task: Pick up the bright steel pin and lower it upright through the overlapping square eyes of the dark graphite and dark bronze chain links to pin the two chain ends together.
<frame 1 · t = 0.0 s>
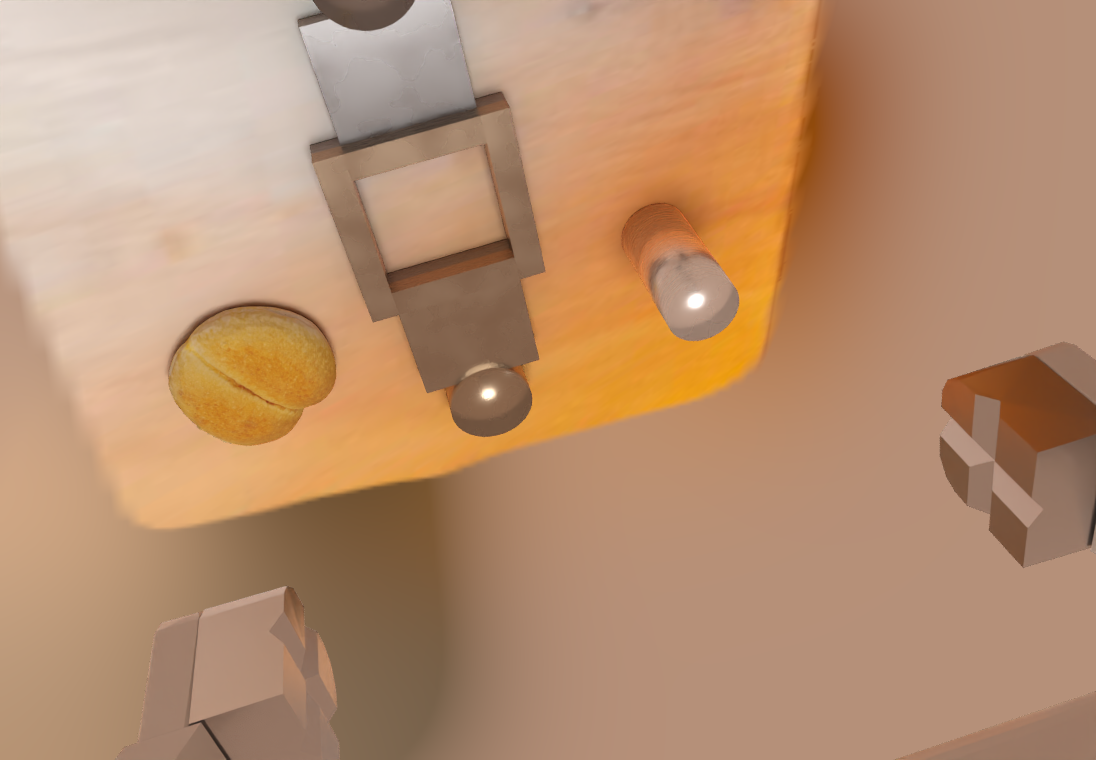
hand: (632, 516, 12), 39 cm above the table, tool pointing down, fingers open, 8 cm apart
upper chain link: (431, 203, 52), on the table
lower chain link: (431, 203, 52), on the table
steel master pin: (654, 233, 57), on the table
bread roll: (253, 362, 56), on the table
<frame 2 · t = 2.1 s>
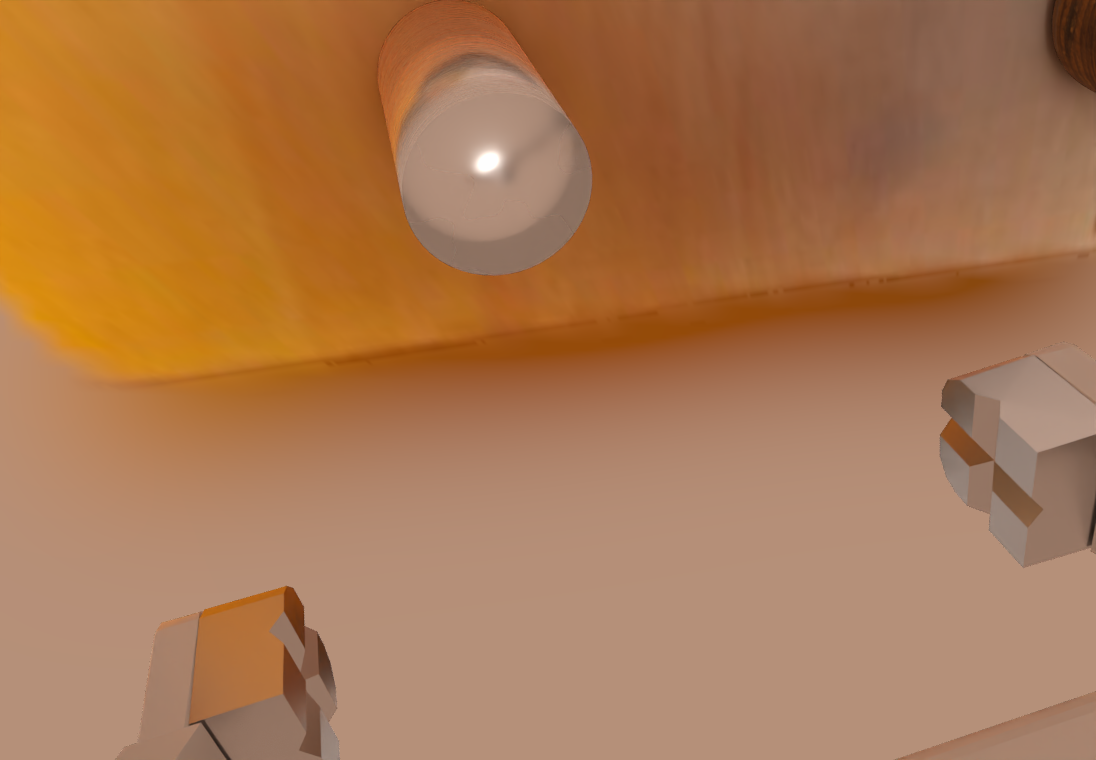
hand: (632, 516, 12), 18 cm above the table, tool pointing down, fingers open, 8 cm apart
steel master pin: (451, 76, 26), on the table
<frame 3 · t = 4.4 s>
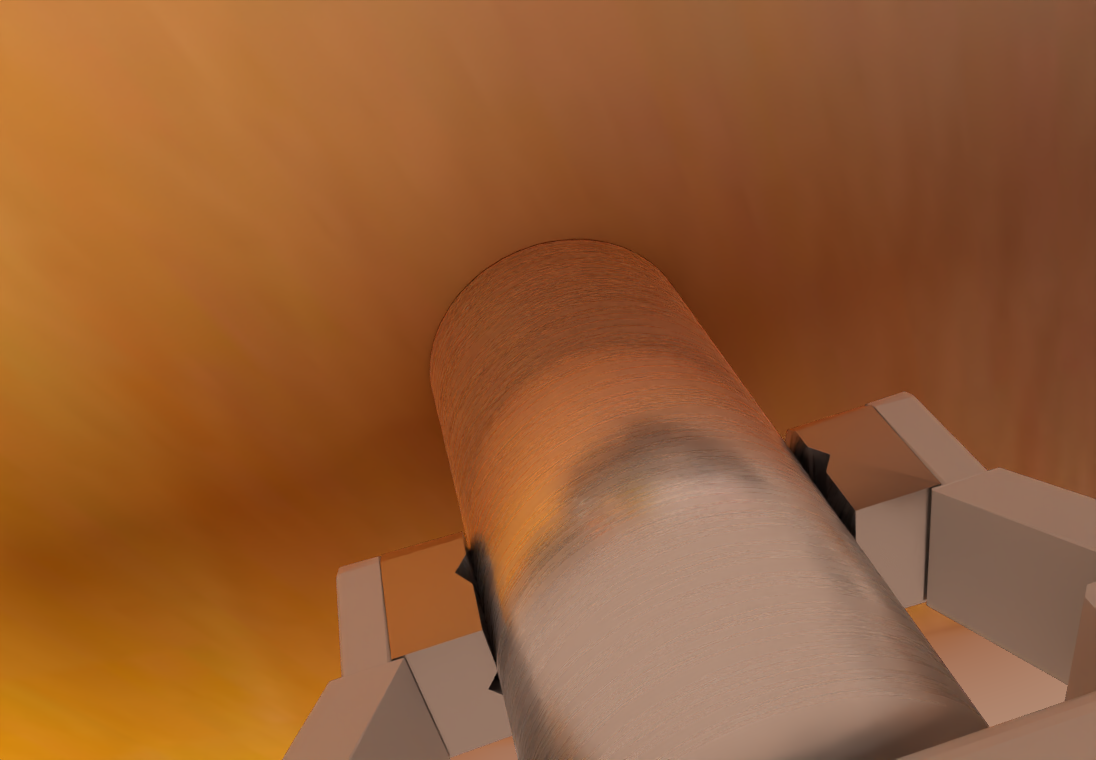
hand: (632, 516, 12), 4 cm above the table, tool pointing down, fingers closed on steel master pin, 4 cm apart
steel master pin: (561, 361, 15), on the table, touching gripper
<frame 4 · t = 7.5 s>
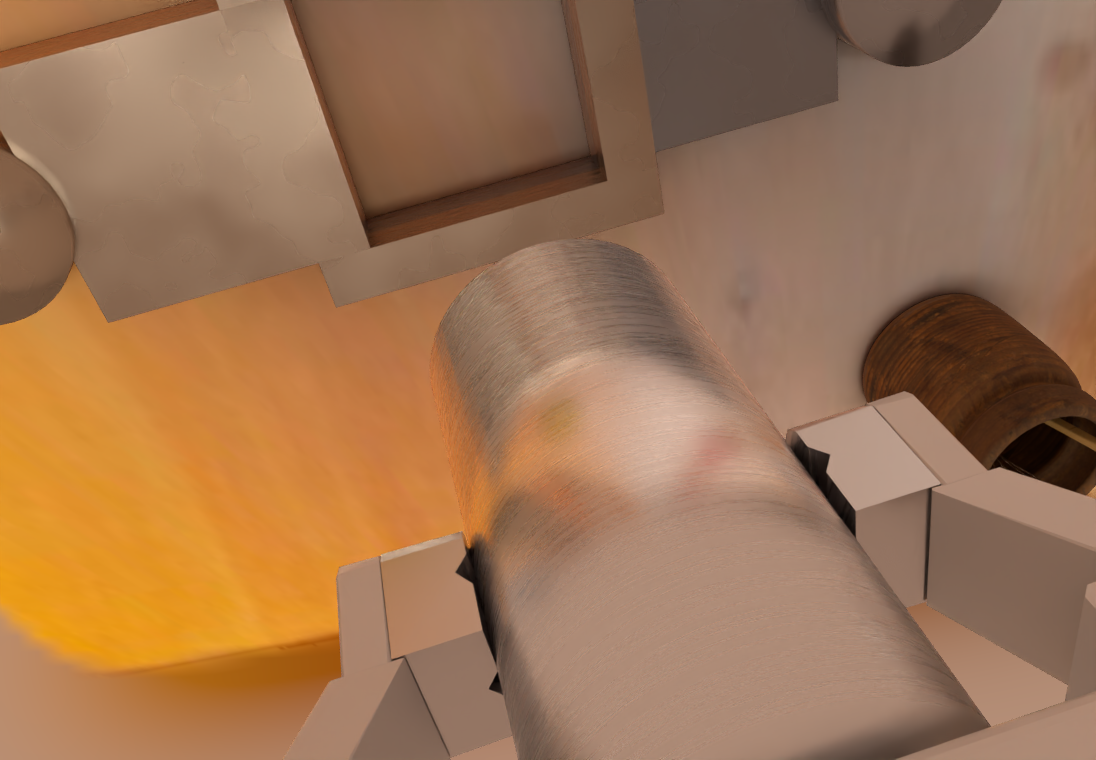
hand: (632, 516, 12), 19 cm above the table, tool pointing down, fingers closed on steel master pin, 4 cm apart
upper chain link: (449, 74, 27), on the table
lower chain link: (449, 74, 27), on the table
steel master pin: (562, 360, 15), point 15 cm above the table, touching gripper
utensil holder: (929, 352, 37), on the table
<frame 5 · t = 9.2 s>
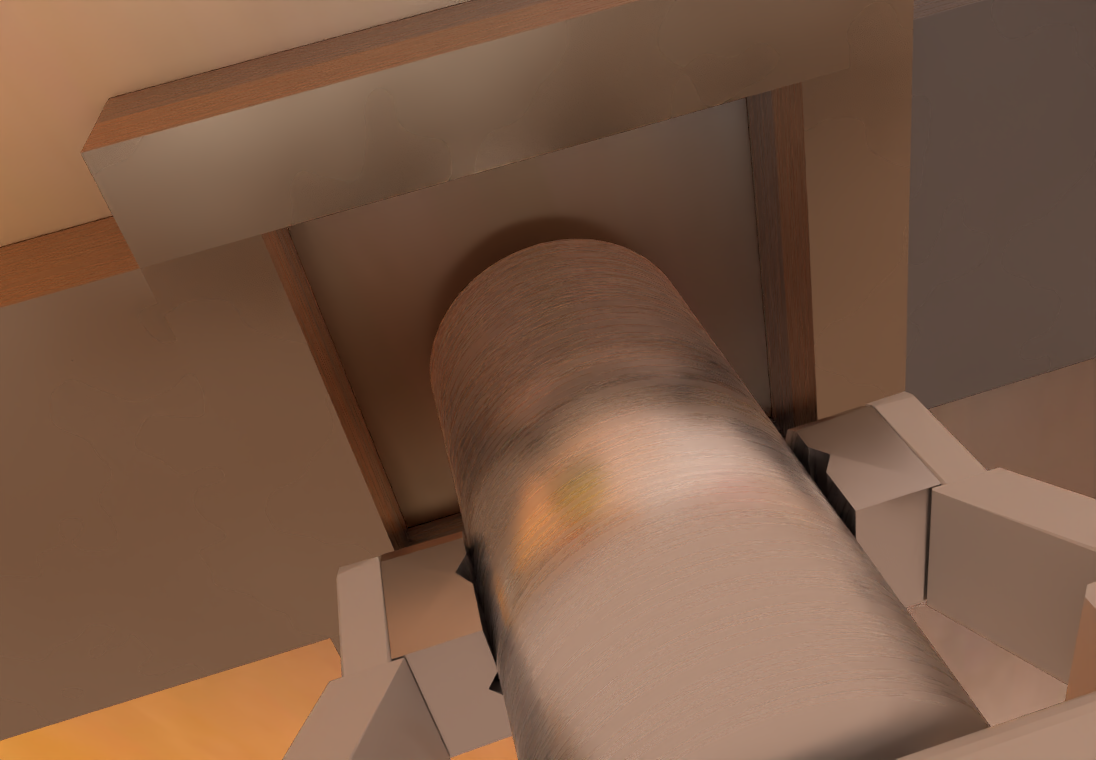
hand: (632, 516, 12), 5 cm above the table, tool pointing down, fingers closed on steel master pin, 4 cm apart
upper chain link: (555, 313, 16), on the table
lower chain link: (555, 313, 16), on the table
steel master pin: (562, 360, 15), point 1 cm above the table, touching gripper
when the fingers open (4 cm above the table, at t = 10.5 s): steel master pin stays where it is, resting in lower chain link.
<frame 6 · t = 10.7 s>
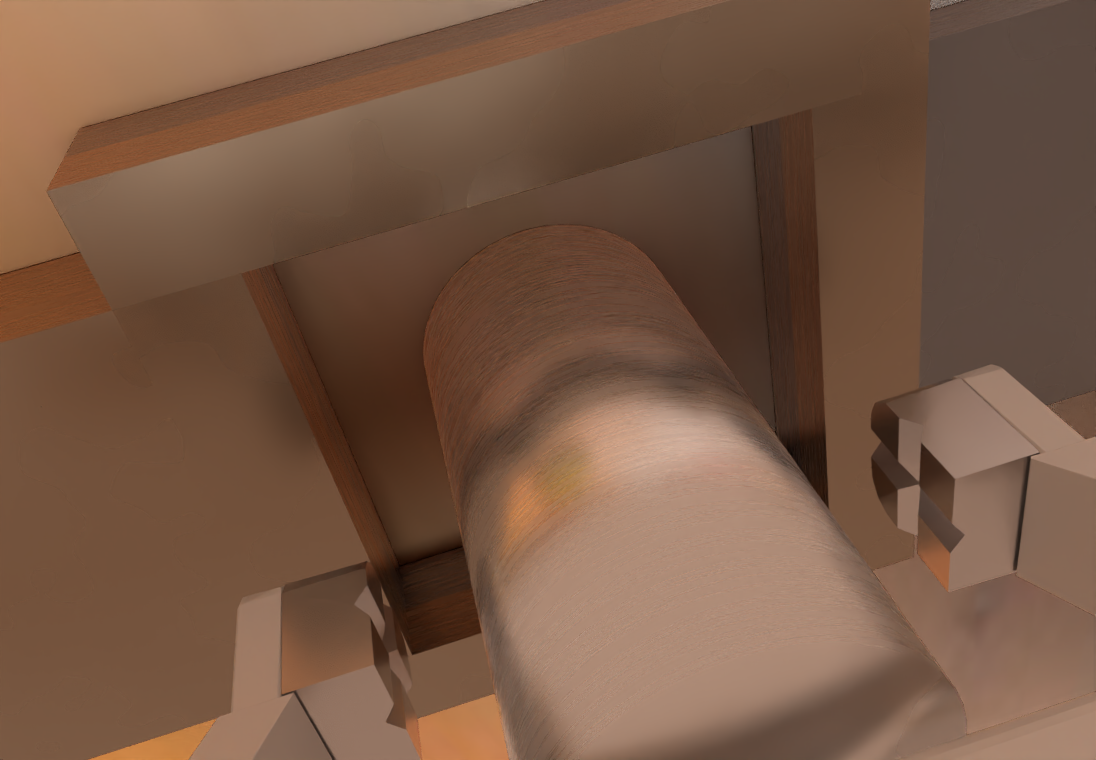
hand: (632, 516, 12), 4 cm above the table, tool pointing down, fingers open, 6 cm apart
upper chain link: (552, 344, 15), on the table
lower chain link: (552, 344, 15), on the table
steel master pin: (551, 344, 15), resting in lower chain link
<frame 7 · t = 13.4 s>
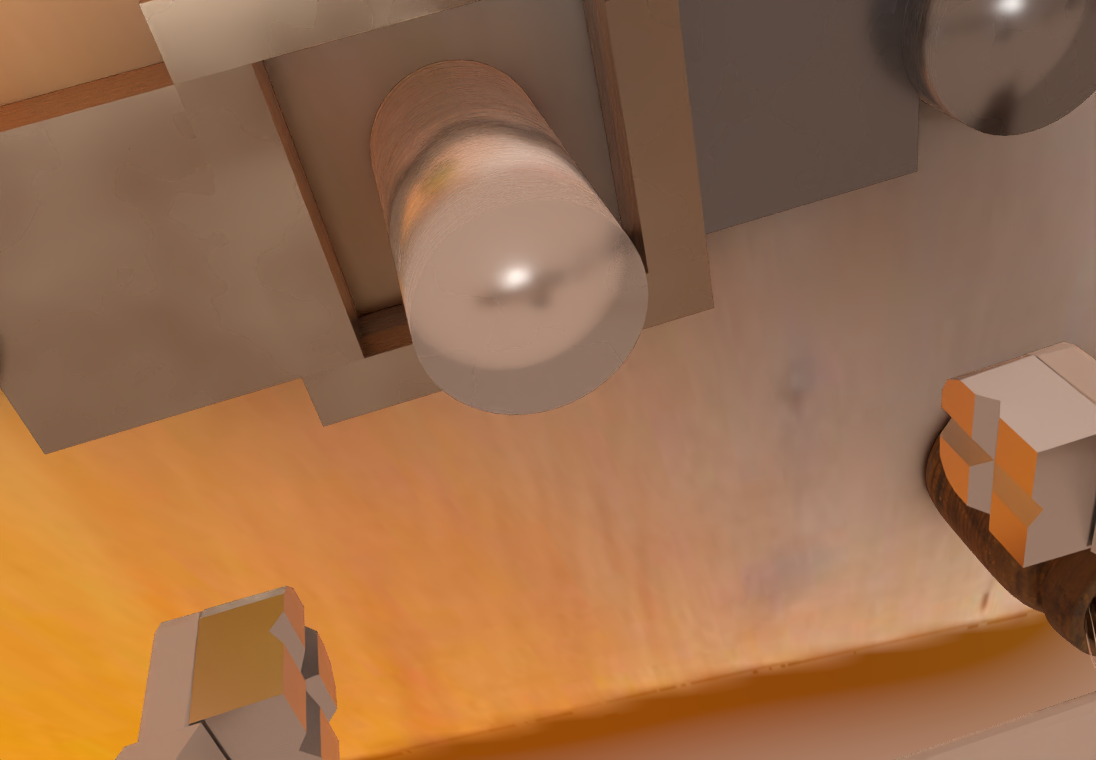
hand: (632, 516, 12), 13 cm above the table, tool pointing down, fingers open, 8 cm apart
upper chain link: (457, 148, 22), on the table
lower chain link: (457, 148, 22), on the table
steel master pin: (457, 147, 22), resting in lower chain link
utensil holder: (999, 439, 32), on the table
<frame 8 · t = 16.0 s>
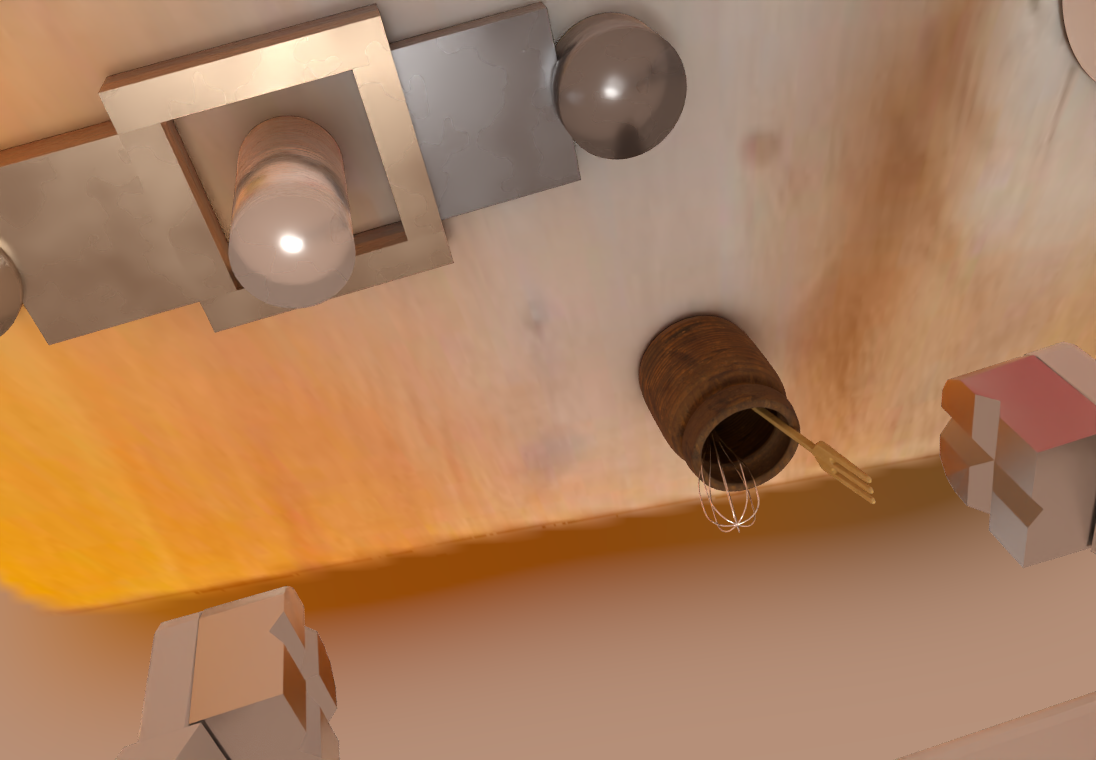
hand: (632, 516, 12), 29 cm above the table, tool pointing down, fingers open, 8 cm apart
upper chain link: (291, 166, 38), on the table
lower chain link: (291, 166, 38), on the table
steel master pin: (291, 166, 38), resting in lower chain link
utensil holder: (693, 359, 48), on the table
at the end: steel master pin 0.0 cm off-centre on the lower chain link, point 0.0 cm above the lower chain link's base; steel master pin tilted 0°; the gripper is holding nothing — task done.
